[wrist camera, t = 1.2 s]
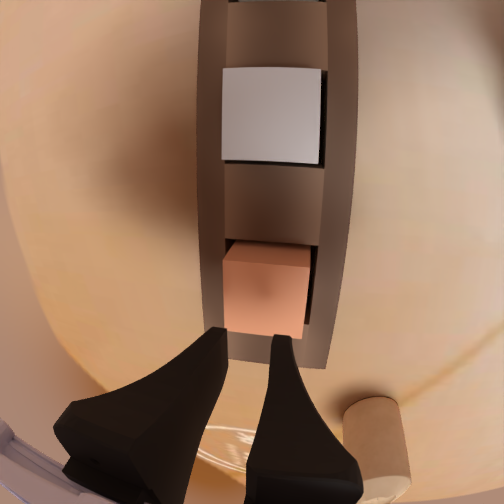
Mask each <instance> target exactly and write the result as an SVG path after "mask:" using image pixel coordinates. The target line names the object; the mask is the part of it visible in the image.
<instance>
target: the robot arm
mask: <svg viewBox="0 0 504 504" xmlns="http://www.w3.org/2000/svg"><path fill="white" fill-rule="evenodd" d="M227 370H228V340H227V328H221V327H214V326H212V327H211V328H210V329H208V330H207V331H206V332H205V333H204V334H203V335H202V336H201V337H199V338H198V339H197V340H196V341H195V342H194V343H193V344H191V345H190V346H189V347H188V348H186V349H185V350H184V351H183V352H182V353H180V354H179V355H178V356H176V357H175V358H174V359H172V360H171V361H170V362H168V363H167V364H165V365H164V366H162V367H161V368H159V369H158V370H156V371H155V372H153V373H151V374H149V375H148V376H146V377H144V378H142V379H140V380H138V381H136V382H133V383H131V384H129V385H127V386H125V387H122V388H120V389H117V390H114V391H112V392H109V393H105V394H102V395H99V396H95V397H91V398H87V399H82V400H78V401H73V402H71V403H70V405H69V406H68V407H67V408H66V410H65V411H64V412H63V413H62V415H61V416H60V417H59V419H58V420H57V421H56V423H55V424H54V426H53V429H54V433H55V435H56V437H57V439H58V440H59V442H60V443H61V444H62V445H63V447H64V448H65V450H66V451H67V452H68V454H69V455H70V456H71V457H70V459H69V460H68V462H67V464H66V465H65V466H64V465H62V464H60V463H59V462H57V461H55V460H53V459H52V458H50V457H48V456H46V455H45V454H43V453H42V452H40V451H39V450H37V449H35V448H33V447H32V446H31V445H29V444H27V443H26V442H24V441H23V440H22V439H20V438H19V437H17V436H16V435H15V434H14V432H13V430H12V429H11V428H10V427H9V425H8V424H7V423H6V422H5V421H3V420H2V419H1V418H0V484H1V485H2V486H3V487H4V488H6V489H7V490H8V491H9V492H10V493H12V494H13V495H14V496H15V497H17V498H18V499H19V500H21V501H22V502H23V503H25V504H183V503H184V498H185V494H186V490H187V486H188V483H189V479H190V475H191V471H192V468H193V464H194V461H195V457H196V454H197V451H198V447H199V444H200V441H201V438H202V435H203V432H204V429H205V427H206V425H207V422H208V420H209V418H210V416H211V413H212V411H213V409H214V406H215V404H216V402H217V399H218V397H219V395H220V392H221V390H222V387H223V384H224V381H225V377H226V373H227ZM363 493H364V485H363V479H362V475H361V471H360V468H359V465H358V462H357V460H356V459H355V458H354V457H353V456H352V455H351V454H350V453H349V452H348V451H347V450H346V449H345V448H344V447H343V445H342V444H341V443H340V442H339V441H338V439H337V438H336V437H335V436H334V435H333V433H332V432H331V431H330V429H329V428H328V426H327V425H326V423H325V422H324V421H323V419H322V418H321V416H320V415H319V413H318V411H317V410H316V408H315V406H314V404H313V402H312V401H311V399H310V397H309V395H308V392H307V390H306V388H305V386H304V383H303V381H302V378H301V376H300V373H299V370H298V367H297V364H296V360H295V356H294V352H293V346H292V337H291V336H289V335H279V334H274V336H273V339H272V343H271V352H270V366H269V380H268V388H267V392H266V397H265V401H264V405H263V409H262V413H261V417H260V420H259V424H258V427H257V431H256V434H255V438H254V441H253V444H252V448H251V451H250V454H249V457H248V460H247V463H246V496H245V500H244V504H356V503H357V502H358V501H359V500H360V499H361V497H362V495H363Z"/></svg>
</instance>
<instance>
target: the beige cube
mask: <svg viewBox="0 0 504 504" xmlns="http://www.w3.org/2000/svg"><path fill="white" fill-rule="evenodd" d="M238 1H239V2H248V1H315V2H318V0H238Z"/></svg>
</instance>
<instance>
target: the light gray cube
mask: <svg viewBox="0 0 504 504" xmlns="http://www.w3.org/2000/svg"><path fill="white" fill-rule="evenodd" d="M320 103H321V69H311V68H289V67H244V68H223V87H222V160H257V161H279V162H297V163H311V164H318V157H319V135H320Z"/></svg>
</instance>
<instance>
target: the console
mask: <svg viewBox="0 0 504 504" xmlns="http://www.w3.org/2000/svg"><path fill="white" fill-rule="evenodd" d="M244 67H289V68H311V69H321V82H324V120H323V146H322V163H319V162H318V164H311V163H297V162H279V161H257V160H222V87H223V68H244ZM357 118H358V35H357V14H356V0H323V2H315V1H248V2H239V1H238V0H201V8H200V25H199V46H198V74H197V199H198V230H199V253H200V272H201V289H202V304H203V318H204V331H205V332H206V331H207V330H208V329H210V328H211V327H212V326H214V327H221V328H224V297H223V259H224V257H225V256H226V254H227V253H228V251H229V250H230V248H231V247H232V245H233V244H234V242H235V241H236V239H243V240H256V241H268V242H281V243H294V244H306V245H315V255H314V265H313V274H312V283H311V292H310V296H307V301H306V309H305V317H304V325H303V333H302V339H295V338H292V346H293V352H294V356H295V360H296V364H297V367H303V368H315V369H325V368H326V363H327V359H328V354H329V349H330V344H331V339H332V334H333V329H334V324H335V318H336V313H337V307H338V301H339V295H340V289H341V283H342V277H343V270H344V263H345V256H346V248H347V241H348V233H349V224H350V215H351V206H352V195H353V184H354V172H355V158H356V141H357ZM272 339H273V336H265V335H256V334H248V333H240V332H232V331H227V340H228V359H233V360H240V361H248V362H256V363H264V364H270V352H271V343H272Z"/></svg>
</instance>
